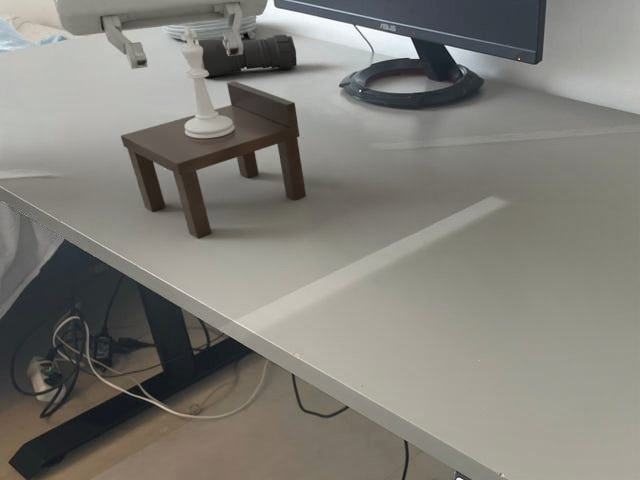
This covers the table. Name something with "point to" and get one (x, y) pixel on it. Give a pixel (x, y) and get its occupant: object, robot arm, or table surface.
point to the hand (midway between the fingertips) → (189, 58)
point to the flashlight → (248, 55)
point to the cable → (211, 29)
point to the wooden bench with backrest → (217, 151)
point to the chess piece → (202, 96)
